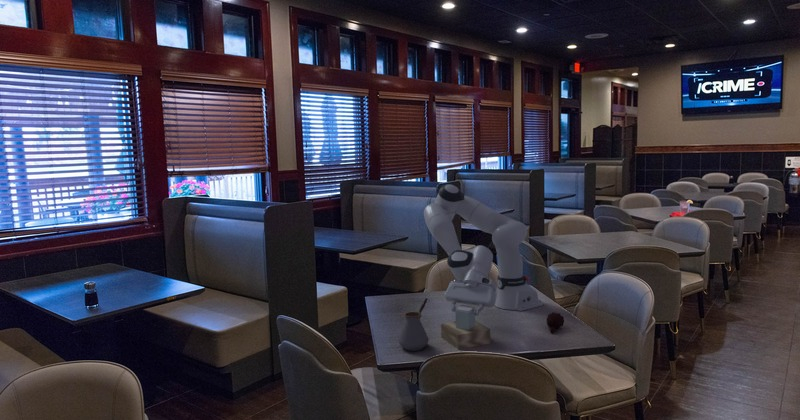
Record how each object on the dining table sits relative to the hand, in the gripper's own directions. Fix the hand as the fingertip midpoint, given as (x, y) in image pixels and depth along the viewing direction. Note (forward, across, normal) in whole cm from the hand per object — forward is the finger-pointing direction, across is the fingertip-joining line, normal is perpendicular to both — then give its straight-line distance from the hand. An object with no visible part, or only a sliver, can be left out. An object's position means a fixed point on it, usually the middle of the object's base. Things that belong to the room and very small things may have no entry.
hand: (464, 312), depth 210 cm
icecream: (-12, +27, +29) cm, 41 cm away
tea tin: (+4, 0, +4) cm, 6 cm away
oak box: (+8, 0, +9) cm, 12 cm away
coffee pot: (+15, -15, +1) cm, 21 cm away
